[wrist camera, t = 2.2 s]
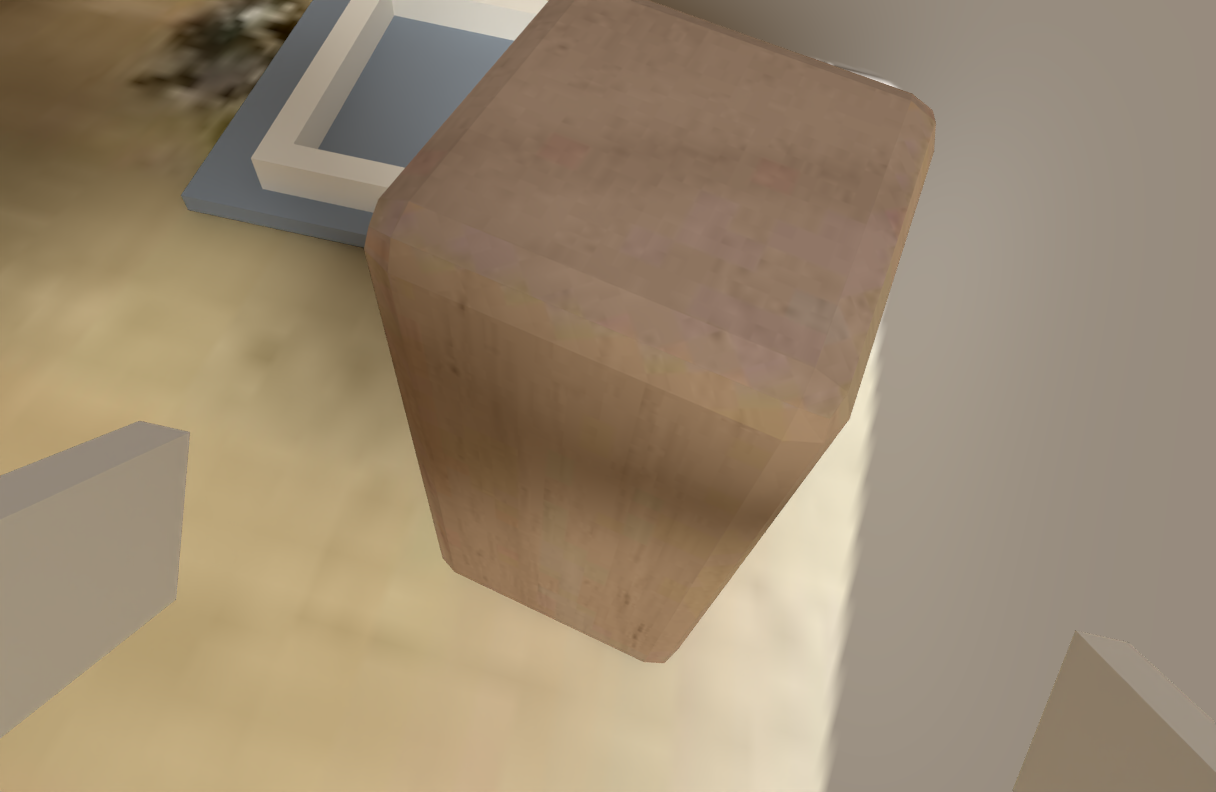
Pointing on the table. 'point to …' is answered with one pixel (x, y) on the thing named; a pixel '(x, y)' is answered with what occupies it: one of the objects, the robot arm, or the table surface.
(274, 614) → the table surface
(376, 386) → the table surface
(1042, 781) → the robot arm
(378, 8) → the grey square frame tray
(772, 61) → the block
